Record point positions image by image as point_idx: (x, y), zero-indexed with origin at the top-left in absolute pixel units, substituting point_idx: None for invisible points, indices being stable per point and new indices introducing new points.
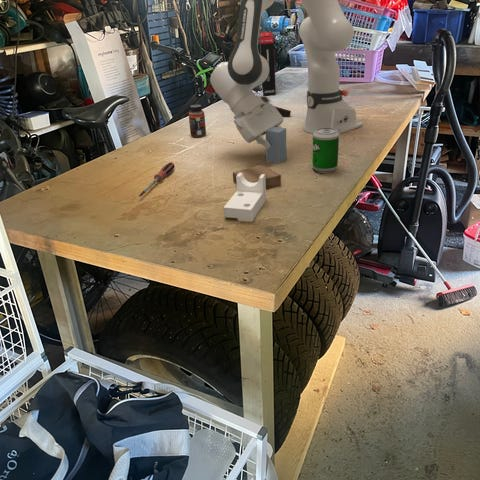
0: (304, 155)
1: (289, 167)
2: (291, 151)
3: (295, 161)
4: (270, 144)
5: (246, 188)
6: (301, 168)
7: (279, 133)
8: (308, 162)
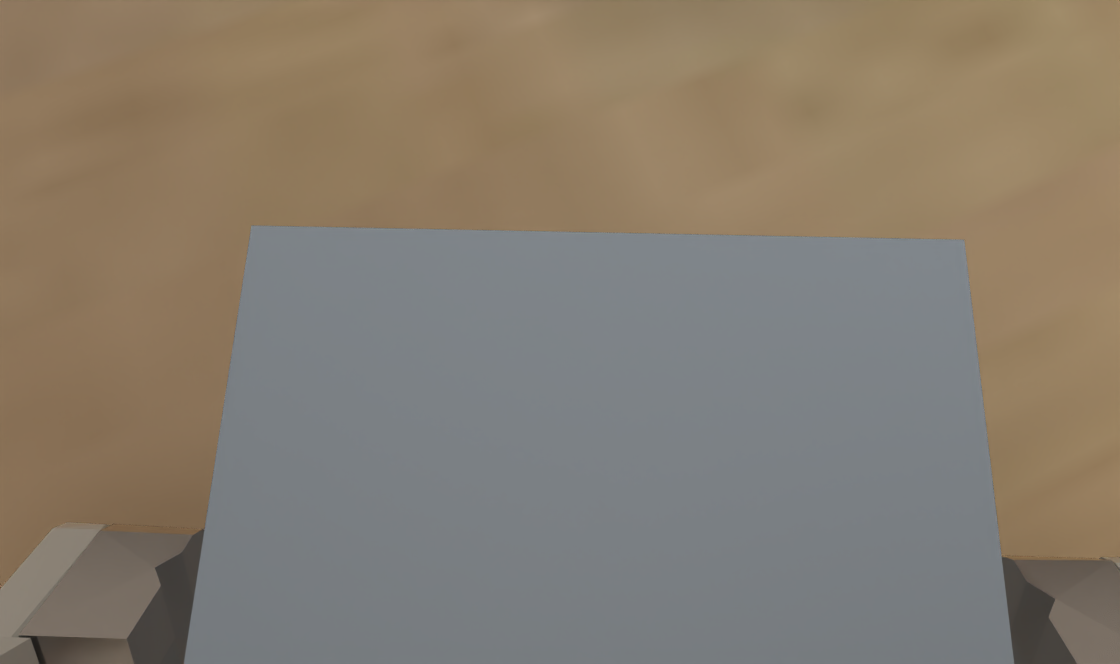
0: (212, 249)
1: None
2: None
3: None
4: (1095, 569)
5: None
6: (784, 76)
7: (921, 260)
8: (507, 79)
